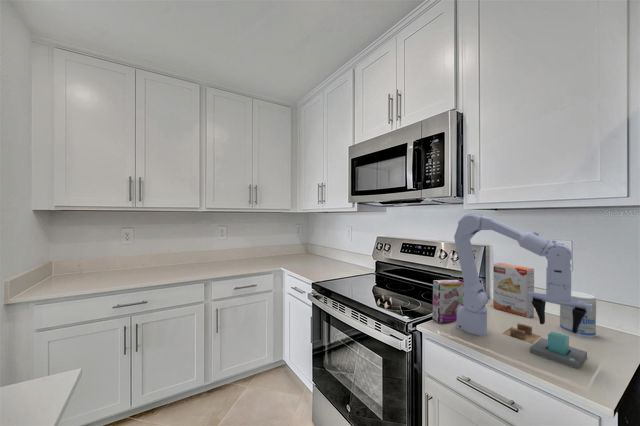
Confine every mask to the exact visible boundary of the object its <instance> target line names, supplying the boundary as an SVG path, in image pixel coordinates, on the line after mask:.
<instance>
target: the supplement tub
mask: <svg viewBox="0 0 640 426" xmlns="http://www.w3.org/2000/svg"><path fill="white" fill-rule="evenodd" d="M596 298H597V297H596V296H595V295H593V294H590V293H587V292H586V293H585V292H581V291H577V290H576V291H575V290H571V299H574V300H578V301H581V302H585V303H589V304H592V311H591V312H588V311H587V312H586V314H585V315H584V317H583V318H582V320H581V322H580V324H579V327H578V332H577V333H576V334H575V333H573V331H572V329H573V314H572V310H573V309H575V308H572V307H568V306H563V305H559V329H560V330H561V331H563V332H565V333H567V334H570V335H573V336H577V337H582V338H595V337H596V334H597V333H596V332H597V328H596V327H597V299H596Z"/></svg>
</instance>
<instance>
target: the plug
mask: <svg viewBox="0 0 640 426" xmlns="http://www.w3.org/2000/svg"><path fill="white" fill-rule="evenodd" d="M547 340H548V350H550V351H553V352H556V353H559V354H562V355H565V356H568V354H569V346H570V336H569V335H567V334H564V333H559V332H557V331H553V330H552V331H550V332H548V334H547Z"/></svg>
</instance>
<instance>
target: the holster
mask: <svg viewBox="0 0 640 426" xmlns="http://www.w3.org/2000/svg"><path fill="white" fill-rule="evenodd" d="M516 326H517V327H513V326H511V327H509V328H508V329H506V330H505V331H504V332H502V333H501V335H504V336H508V337H512V338H515V339H517V340H520V341H524V342H527V343H528V344H532V345H534V344H535V343H536V342H537V341H538V340H539V339H541V338H542V335H539V334H536V333H533V326H530V325H526V324H523V323H520V322H518V323H517V325H516Z"/></svg>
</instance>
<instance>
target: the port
mask: <svg viewBox="0 0 640 426" xmlns="http://www.w3.org/2000/svg"><path fill="white" fill-rule="evenodd" d="M529 353H530V354H533V355H536V356H539V357H541V358H545V359H547V360H551V361H552V362H555V363H559V364H562V365H565V366H567V367H570V368H573V369H576V370H579V369H580V368H581V366H582V365H583V364H584V362H585V361H586V359H587V357H588V351H587V350H583V349H579V348H575V347H573V346H570V345H569V354H568V356H565V355H562V354H559V353H556V352H553V351H550V350H548V338H543V337H540V338H538V339H537V340H536V341H535V342H534V343H533V344H532V345H531V346H530V347H529Z"/></svg>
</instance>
